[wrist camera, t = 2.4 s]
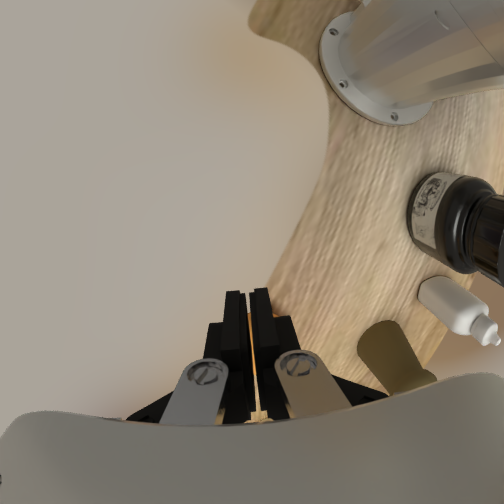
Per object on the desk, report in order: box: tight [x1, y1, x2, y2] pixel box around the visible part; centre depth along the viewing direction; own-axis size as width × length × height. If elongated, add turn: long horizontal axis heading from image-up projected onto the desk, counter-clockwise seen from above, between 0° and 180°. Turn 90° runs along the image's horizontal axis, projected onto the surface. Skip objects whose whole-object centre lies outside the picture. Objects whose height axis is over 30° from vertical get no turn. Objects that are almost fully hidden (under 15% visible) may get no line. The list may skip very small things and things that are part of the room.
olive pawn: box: [357, 320, 437, 397], centre depth 23 cm, size 6×6×11 cm
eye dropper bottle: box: [418, 276, 501, 346], centre depth 21 cm, size 4×6×12 cm
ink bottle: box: [408, 172, 504, 287], centre depth 18 cm, size 10×9×12 cm
